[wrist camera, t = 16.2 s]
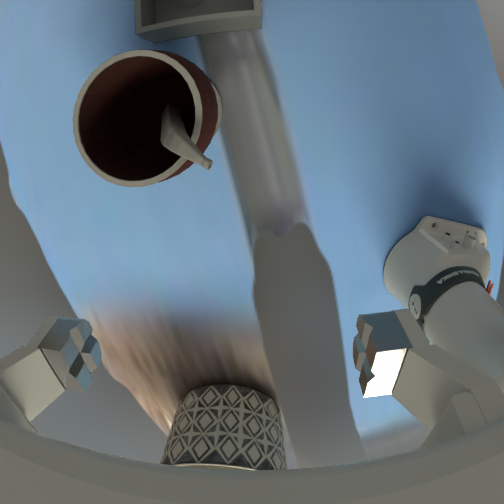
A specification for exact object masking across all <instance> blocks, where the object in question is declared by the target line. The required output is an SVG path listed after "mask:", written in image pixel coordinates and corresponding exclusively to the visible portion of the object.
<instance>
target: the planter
mask: <svg viewBox="0 0 504 504" xmlns="http://www.w3.org/2000/svg"><path fill="white" fill-rule="evenodd" d="M160 464H166V465H174V466H182V467H192V468H204V469H221V470H285V469H287V463H286V454H285V446H284V438H283V430H282V422H281V414H280V410H279V408H278V406H277V404H276V403H275V402H274V401H273V400H272V399H271V398H269V397H268V396H266V395H265V394H263V393H261V392H259V391H256V390H254V389H251V388H247V387H243V386H237V385H228V384H216V385H207V386H203V387H199V388H196V389H194V390H191V391H190V392H188V393H187V394H185V395H184V396H183V397H182V398H181V400H180V402H179V404H178V407H177V411H176V414H175V417H174V420H173V424H172V427H171V430H170V433H169V436H168V440H167V443H166V446H165V450H164V453H163V456H162V459H161V463H160Z"/></svg>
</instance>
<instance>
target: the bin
mask: <svg viewBox="0 0 504 504" xmlns="http://www.w3.org/2000/svg"><path fill="white" fill-rule="evenodd" d="M252 29H262V10H261V0H202V1H201V2H200V3H198V4H197V5H195V6H192V7H189V8H178V7H174V6H172V5H171V4H169V3H168V1H167V0H135V33H136V35H138V36H140V37H142V38H144V39H146V40H148V41H150V42H152V43H157V42H162V41H167V40H172V39H178V38H183V37H189V36H196V35H203V34H210V33H218V32H228V31H238V30H252Z"/></svg>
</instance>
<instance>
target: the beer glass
mask: <svg viewBox="0 0 504 504" xmlns="http://www.w3.org/2000/svg"><path fill="white" fill-rule="evenodd" d="M167 1H168V3H169V4H171V5H172V6H174V7H178V8H189V7H192V6H195V5H197V4H198V3H200V2H201V1H202V0H167Z"/></svg>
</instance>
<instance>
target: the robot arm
mask: <svg viewBox="0 0 504 504" xmlns="http://www.w3.org/2000/svg"><path fill="white" fill-rule="evenodd" d="M433 223H434V225H433V226H432V224H433ZM489 270H490V255H489V252H488V251H487V239H486V234H485V231H484V230H483V229H481V228H478V227H474V226H470V225H466V224H462V223H458V222H454V221H450V220H446V219H442V218H437V217H433V216H425V217H424V218H422V220H421V221H420V222H419V223H418V225H417V226H416V228H415V229H414V230H413V231H412V232H410V233H409V234H407V235H406V236H405V237H403V238H402V239H401V240H400V241H399V242H398V243H397V244H396V245H395V246H394V248H393V249H392V250H391V252H390V254H389V255H388V258H387V260H386V263H385V266H384V273H383V277H384V283H385V286H386V288H387V290H388V291H389V293H390V294H392V295H393V296H394V297H395V298H397V299H398V300H399V301H400V302H401V303H402V304H403V306H404V307H405V309H400V310H393V311H388V312H379V313H370V314H360V315H359V316H358V318H357V324H356V327H357V330H358V334H357V335H356V336H355V337H354V342H353V359H354V364H355V368H356V369H357V370H359V371H360V372H361V373H360V377H359V382H360V386H361V389H362V393H363V396H364V397H372V396H379V395H386V394H392V396H393V397H394V398H395V399H396V400H397V401H398V402H399V403H401V404H402V405H403V406H404V407H405V408H406V409H407V410H408V411H409V412H410V413H411V414H412V415H413V416H415V417H416V418H417V419H418V420H419V421H420V422H421V423H422V424H423V425H424V426H425V427H426V428H427V429H429V430H430V431H431V432H430V433H429V435H428V436H427V438H426V439H425V441H424V442H423V443H422V445H421V446H420V448H419V449H416V450H412V451H408V452H404V453H400V454H395V455H391V456H386V457H381V458H376V459H371V460H366V461H360V462H354V463H347V464H340V465H332V466H324V467H314V468H302V469H285V470H221V469H204V468H192V467H182V466H174V465H166V464H158V463H152V462H145V461H140V460H134V459H128V458H124V457H119V456H114V455H110V454H106V453H101V452H97V451H93V450H89V449H86V448H82V447H79V446H75V445H72V444H68V443H65V442H62V441H59V440H56V439H53V438H50V437H47V436H44V435H41V434H38V433H37V430H36V428H35V427H34V426H33V425H32V424H31V423H30V421H31V420H32V419H33V418H35V417H36V416H37V415H38V414H39V413H40V412H41V411H42V410H43V409H45V408H46V407H47V406H48V405H49V404H50V403H51V402H52V401H54V400H55V399H56V398H57V397H58V396H59V395H60V394H62V393H63V392H64V391H65V389H68V390H74V391H79V392H85V391H86V389H87V387H88V385H89V383H90V381H91V379H92V375H91V372H92V371H93V370H94V369H96V368H97V367H98V365H99V363H100V359H101V349H100V345H99V343H98V341H97V339H96V338H94V337H93V336H92V335H91V333H92V330H93V329H92V327H91V325H90V323H89V321H87V320H85V319H75V318H65V317H62V318H61V317H53V316H52V317H49V318H47V319H46V321H45V322H44V323H43V324H42V326H41V327H40V328H39V329H38V331H37V332H36V333H35V335H34V336H33V337H32V339H31V340H30V341H29V343H28V344H27V345H26V346H22V347H20V348H18V349H17V350H15V351H13V352H12V353H10V354H8V355H6V356H5V357H3V358H2V359H0V504H504V310H503V309H502V308H501V307H500V305H499V304H498V303H497V302H496V301H495V300H494V299H493V298H492V297H491V296H490V294H491V291H492V288H493V283H492V285H491V287H490V284H491V281H490V280H489V282H488V285H487V288H485V284H486V282H487V278H488V275H489ZM430 344H431V345H430Z"/></svg>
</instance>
